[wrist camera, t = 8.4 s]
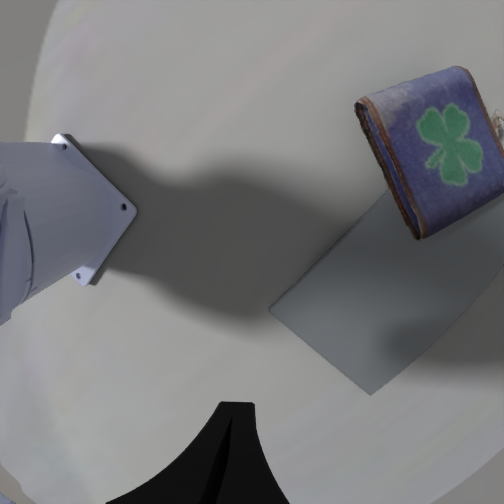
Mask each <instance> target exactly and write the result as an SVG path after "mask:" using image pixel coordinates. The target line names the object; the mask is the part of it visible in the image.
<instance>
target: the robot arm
mask: <svg viewBox="0 0 504 504" xmlns="http://www.w3.org/2000/svg"><path fill="white" fill-rule="evenodd" d="M65 145H67V148H66V150H65ZM123 204H126V206H127V209H126V210H124V209H123ZM136 214H137V210H136V207H135V206H134V205H133V204H132V203H131V202H130V201H129V200H128V199H127V198H126V197H125V196H124V195H123V194H122V193H121V192H120V191H119V190H118V189H117V188H116V187H115V186H114V185H113V184H111V183H110V182H109V181H108V180H107V179H106V178H105V177H104V176H103V175H102V174H101V173H100V172H99V171H98V170H97V169H96V168H95V167H94V166H93V165H92V164H91V163H90V161H89V160H88V159H87V158H86V157H85V156H84V155H83V154H82V153H81V152H80V151H79V150H78V149H77V148H76V147H75V146H74V145H73V144H72V143H71V142H70V141H69V140H68V139H67V138H66V137H65V136H64V135H63V134H60V133H58V134H56V135H55V136H54V138H53V140H52V142H51V143H41V142H0V326H1V325H2V324H4V323H5V322H6V321H8V320H9V319H10V318H11V312H12V310H13V309H14V308H15V307H17V306H18V305H20V304H22V303H23V302H25V301H26V300H28V299H30V298H31V297H33V296H34V295H36V294H37V293H39V292H41V291H42V290H44V289H45V288H47V287H49V286H50V285H52V284H53V283H55V282H57V281H58V280H60V279H62V278H63V277H65V276H67V275H68V274H71V275H72V276H73V277H74V278H75V279H76V280H77V281H78V282H79V283H80V284H81V285H82V286H87V285H88V284H89V283H90V281H91V280H92V278H93V277H94V275H95V274H96V272H97V271H98V269H99V268H100V266H101V264H102V263H103V261H104V260H105V259H106V257H107V256H108V254H109V253H110V251H111V250H112V248H113V247H114V245H115V244H116V242H117V241H118V240H119V238H120V237H121V235H122V234H123V233H124V231H125V230H126V228H127V227H128V226H129V224H130V223H131V222H132V220H133V219H134V218H135V216H136ZM78 273H79V274H80V275H81V277H80V276H79V274H78ZM0 504H16V503H15V502H13V501H12V500H10V499H9V498H7V497H6V496H5V495H3V494H2V493H0ZM106 504H290V503H289V502H288V500H287V499H286V497H285V495H284V494H283V492H282V491H281V489H280V487H279V486H278V484H277V482H276V480H275V478H274V476H273V474H272V472H271V470H270V468H269V466H268V463H267V461H266V458H265V456H264V453H263V450H262V447H261V444H260V441H259V437H258V434H257V430H256V417H255V404H253V403H252V402H224V401H221V402H220V403H219V404H218V406H217V408H216V409H215V411H214V413H213V414H212V416H211V417H210V419H209V420H208V422H207V423H206V424H205V426H204V427H203V428H202V430H201V431H200V432H199V434H198V435H197V436H196V438H195V439H194V440H193V441H192V442H191V443H190V444H189V446H188V447H187V448H186V449H185V450H184V451H183V452H182V453H181V454H180V455H179V456H178V457H177V458H176V459H175V460H174V461H173V462H172V463H171V464H169V465H168V466H167V467H166V468H165V469H163V470H162V471H161V472H160V473H158V474H157V475H156V476H154V477H153V478H152V479H150V480H149V481H147V482H145V483H144V484H142V485H141V486H139V487H137V488H136V489H134V490H132V491H130V492H128V493H126V494H124V495H122V496H120V497H118V498H116V499H113V500H111V501H109V502H106Z"/></svg>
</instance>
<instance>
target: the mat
mask: <svg viewBox="0 0 504 504" xmlns="http://www.w3.org/2000/svg"><path fill="white" fill-rule="evenodd" d="M393 198H394V197H393V196H392V194H391V192H390V190H389V189H388V190H387V191H386V193H385V194H384V195H383V196H382V197H381V198H380V199H379V200H378V201H377V202H376V203H375V204H374V205H373V206H372V207H371V208H370V209H369V210H368V211H367V212H366V213H365V214H364V216H363V217H362V218H361V219H360V220H359V221H358V222H357V223H356V224H355V225H354V226H353V227H352V228H351V229H350V230H349V231H348V232H347V233H346V234H345V235H344V236H343V237H342V238H341V239H340V240H339V241H338V242H337V243H336V244H335V245H334V246H333V247H332V248H331V249H330V250H329V251H328V252H327V253H326V254H325V255H324V256H323V257H322V258H321V259H320V260H319V261H318V262H317V263H315V264H314V265H313V266H312V267H311V268H310V269H309V270H308V271H307V272H306V273H305V274H304V275H303V276H302V277H301V278H300V279H299V280H298V281H297V282H296V283H295V284H294V285H293V286H291V287H290V288H289V289H288V290H287V291H286V292H285V293H284V294H283V295H282V296H281V297H280V298H279V299H278V300H277V301H275V302H274V303H273V304H272V305H271V306H270V307H269V312H270V313H271V314H273V315H274V316H275V317H276V318H277V319H278V320H280V321H281V322H282V323H283V324H284V325H285V326H287V327H288V328H289V329H290V330H291V331H292V332H294V333H295V334H296V335H297V336H298V337H300V338H301V339H302V340H303V341H304V342H305V343H307V344H308V345H309V346H310V347H311V348H313V349H314V350H315V351H316V352H317V353H319V354H320V355H321V356H322V357H323V358H325V359H326V360H327V361H328V362H329V363H331V364H332V365H333V366H334V367H335V368H337V369H338V370H339V371H340V372H342V373H343V374H344V375H345V376H346V377H348V378H349V379H350V380H351V381H353V382H354V383H355V384H356V385H358V386H359V387H360V388H361V389H362V390H364V391H365V392H366V393H367V394H369V395H370V396H371V395H372V394H373V393H375V392H376V391H377V390H379V389H380V388H381V387H383V386H384V385H385V384H386V383H388V382H389V381H390V380H391V379H393V378H394V377H395V376H396V375H397V374H399V373H400V372H401V371H402V370H403V369H405V368H406V367H407V366H408V365H409V364H411V363H412V362H413V361H414V360H415V359H416V358H417V357H418V356H420V355H421V354H422V353H423V352H424V351H425V350H426V349H427V348H428V347H429V346H430V345H432V344H433V343H434V342H435V341H436V340H437V339H438V338H439V337H440V336H441V335H442V334H443V333H444V332H445V331H446V330H447V329H448V328H449V327H450V326H451V325H452V324H453V323H454V322H455V321H456V320H457V319H458V318H459V317H460V316H461V315H462V314H463V312H464V311H465V310H466V309H467V308H468V307H469V306H470V305H471V304H472V303H473V301H474V300H475V299H476V298H477V297H478V296H479V295H480V293H481V292H482V291H483V290H484V289H485V288H486V286H487V285H488V284H489V283H490V282H491V280H492V279H493V278H494V277H495V275H496V274H497V273H498V272H499V270H500V269H501V268H502V266H503V265H504V193H503V194H501V195H500V196H499V197H497V198H496V199H494V200H492V201H490V202H488V203H487V204H485V205H484V206H482V207H481V208H478V209H476V210H474V211H473V212H472V213H470V214H469V215H467V216H465V217H464V218H463V219H460V220H458V221H456V222H454V223H453V224H451V225H449V226H448V227H446V228H444V229H442V230H440V231H439V232H437V233H435V234H434V235H431V236H430V237H428V238H425V239H420V240H421V242H420V241H419V240H415V239H414V238H413V237H412V236H411V234H410V231H409V230H408V229H407V227H406V225H405V223H404V221H403V219H402V217H401V214H400V212H399V210H398V207H397V205H396V203H395V201H394V199H393Z"/></svg>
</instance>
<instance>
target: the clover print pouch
mask: <svg viewBox="0 0 504 504" xmlns="http://www.w3.org/2000/svg"><path fill="white" fill-rule="evenodd" d="M357 102H358V101H357ZM357 102H356V103H355V104H354V107H355V110H354V112H355V113H356V116H358V117H357V118H359V121H360V125H361V129H362V131H363V133H364V134H365V135H366V137H367V139H368V143H369V144H370V147H371V149H372V151H373V153H374V155H375V157H376V160H377V162H378V164H379V166H380V167H381V168H382V170H383V175H384V178H385V179H386V182H387V186H388V188H389V190H390V192H391V194H392V196H393V197H394V198H393V199H394V201H395V203H396V205H397V207H398V210H399V212H400V214H401V217H402V219H403V221H404V223H405V225H406V227H407V229H408V230H409V231H410V234H411V236H412V237H413V238H414V239H415V240H419V241H420V242H421V240H420V239H425V238H428V237H430V236H431V235H434V234H435V233H437V232H439V231H440V230H442V229H444V228H446V227H448V226H449V225H451V224H453V223H454V222H456V221H458V220H460V219H463V218H464V217H465V216H467V215H469V214H470V213H472V212H473V211H474V210H476V209H478V208H481V207H482V206H484V205H485V204H487V203H488V202H490V201H492V200H494V199H496V198H497V197H499V196H500V195H501V194H503V193H504V149H503V148H502V145H501V142H500V140H499V139H498V137H499V132H498V128H500V129H501V127H500V126H501V123H500V121H499V118H501V119H502V120H503V121H504V116H502V115H501V113H500V111H499V110H497V109H496V110H495V114H493V113H491V114H490V115H489V116H488V113H487V111H486V108H485V106H484V103H483V101H482V99H481V96H480V93H479V91H478V89H477V87H476V84H475V81H474V79H473V77H472V75H471V74H470V73H469V71H468V70H467V69H464V68H462V67H460V66H452V67H450V68H447V69H445V70H442V71H439V72H436V73H433V74H428V75H425V76H423V77H421V78H417V79H413V80H411V81H406V82H403V83H400V84H398V85H396V86H393V87H390V88H388V89H385V90H382V91H379V92H376V93H374V94H371V95H368V96H365V97H362V98H361V99H359V102H358V103H357Z"/></svg>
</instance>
